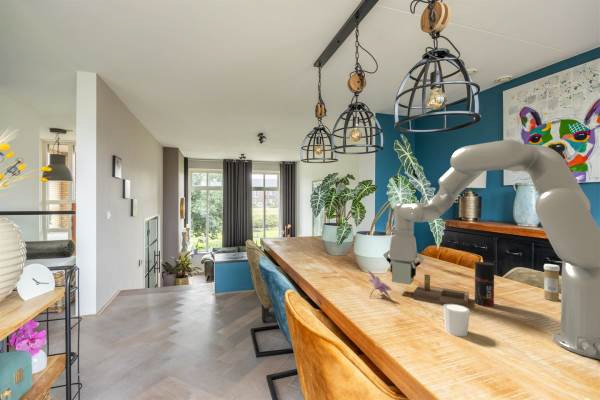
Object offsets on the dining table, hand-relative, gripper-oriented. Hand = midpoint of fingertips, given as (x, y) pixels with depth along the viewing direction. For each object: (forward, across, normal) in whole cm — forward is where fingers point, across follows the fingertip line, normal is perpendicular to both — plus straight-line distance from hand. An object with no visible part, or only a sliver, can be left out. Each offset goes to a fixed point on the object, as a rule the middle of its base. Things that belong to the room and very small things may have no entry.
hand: (402, 275), depth 115 cm
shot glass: (+7, +21, -27) cm, 35 cm away
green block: (+2, 0, 0) cm, 2 cm away
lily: (+7, -7, -11) cm, 15 cm away
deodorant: (+7, +28, +4) cm, 29 cm away
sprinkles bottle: (+7, +50, +25) cm, 56 cm away
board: (+7, +14, +1) cm, 16 cm away
